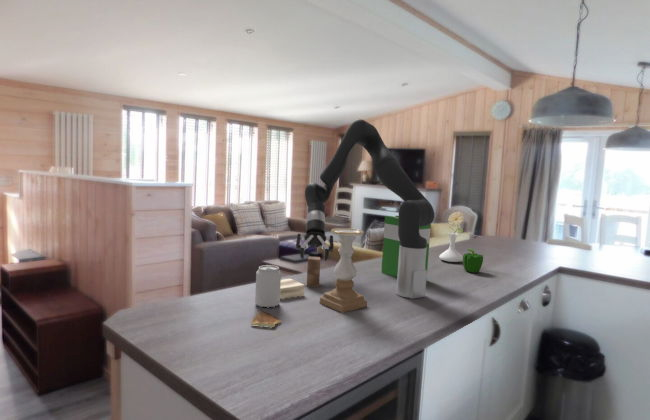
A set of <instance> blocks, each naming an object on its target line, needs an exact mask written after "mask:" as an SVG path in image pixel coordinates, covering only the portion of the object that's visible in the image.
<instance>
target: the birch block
mask: <svg viewBox="0 0 650 420" xmlns="http://www.w3.org/2000/svg"><path fill="white" fill-rule="evenodd" d="M303 295H304V296H305V284H303V283H301V282H299V281H297V280H295V279H292V278H283V279H282V278H281V283H280V299H282V300H286V299H285V298H288V299H292V298H291V297H294V298H298V297H297V296H299V297H304V296H303Z"/></svg>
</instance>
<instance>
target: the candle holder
mask: <svg viewBox="0 0 650 420" xmlns="http://www.w3.org/2000/svg"><path fill="white" fill-rule="evenodd" d="M330 233H331V234H334V235H337V237H338V239H339V240H340V246H339V247H338V249H337V251H338V253H339V256H340V258H339V260H338V261H337V263H336V265H335V266H334V267H333V268H334V269H333V275H334V277H335V278H336V280H335V281H334V286H335V288H334V289H332V290H331V291H327V292H324V293H323V294H322V295H323V296H320V297H319V304H321V305H323V306H325V305H326V307H327V306H328V308H329V307H330V308H329V309H332V308H333V309H332V310H334V309H335V310H334V311H336V310H337V311H336V312H338V311H340V312H339V313H341V312H344V313H347V311H348V312H352V311H355V309H356V310H359V308H360V309H364V308H367V307H368V300H366V299H365V296H364V295H362V294H360V293H358V292H357V291H356V290H355V289H353V288H354V286H355V283H354V281H353V279H355V278H356V277H357V272H358V271H357V268H356V266H355V265H354V263H353V260H352V256H353V255H354V253H355V249H354V247H353V242H354V241H355V240H356V237H358V236H359V237H360V236H363V235H364V233H365V231H364V230H362V229H358V228H351V227H333V228H331V229H330ZM363 307H364V308H363ZM351 310H352V311H351Z"/></svg>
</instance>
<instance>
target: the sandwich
mask: <svg viewBox="0 0 650 420" xmlns="http://www.w3.org/2000/svg"><path fill="white" fill-rule="evenodd" d="M277 323H281V324H282V319H280V318H279V317H276V316H275V315H273V314H270V313H269V312H267V311H264V310H262V309H259V311H258V313H257V314H256V315H255V316H254V317H253V318H252V321H251V322H250V325H258V326H268V327H273V328H274V327H276V326H275V324H277Z"/></svg>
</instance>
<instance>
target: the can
mask: <svg viewBox="0 0 650 420" xmlns="http://www.w3.org/2000/svg"><path fill="white" fill-rule="evenodd" d="M281 280H282V271H281V270H280V267H279V266H277V265H272V264H265V265H260V266H258V269H257V271H256V273H255V297H254V298H255V300H254V302H255V305H257V306H258V307H259V306H260V307H259V308H262V307H267V308H266V309H270V308H269V307H273V308H275V306H276V307H277V306H278V305H280V302H281V301H280V283H281Z"/></svg>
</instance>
